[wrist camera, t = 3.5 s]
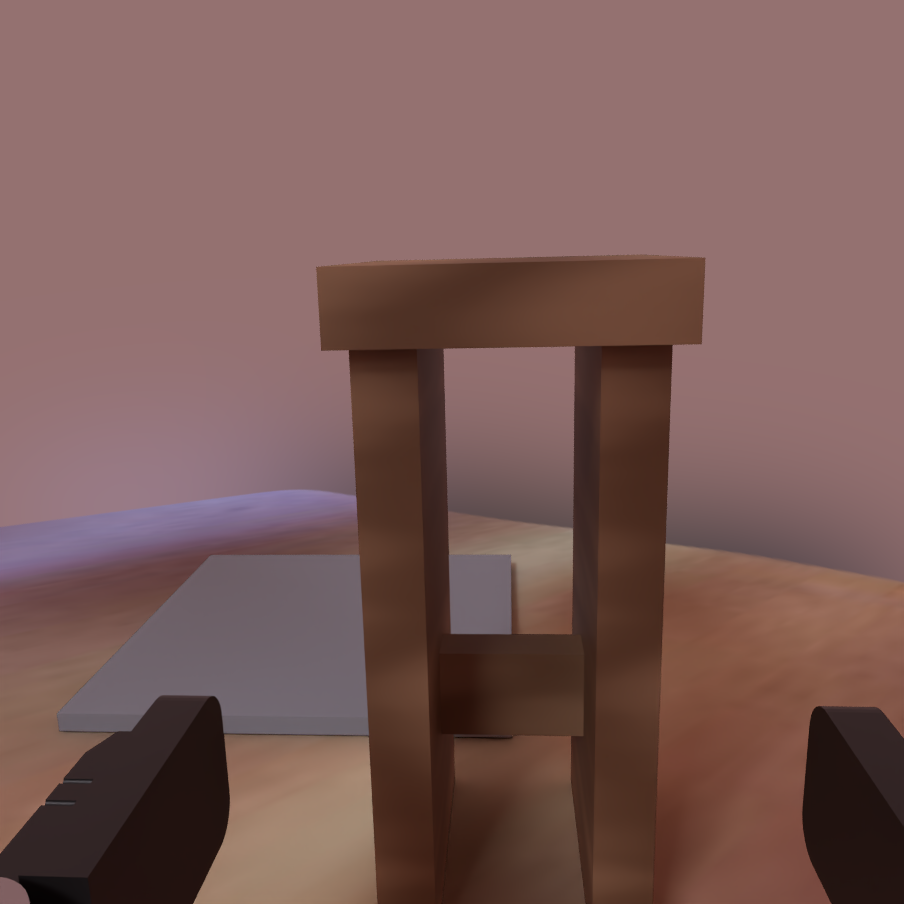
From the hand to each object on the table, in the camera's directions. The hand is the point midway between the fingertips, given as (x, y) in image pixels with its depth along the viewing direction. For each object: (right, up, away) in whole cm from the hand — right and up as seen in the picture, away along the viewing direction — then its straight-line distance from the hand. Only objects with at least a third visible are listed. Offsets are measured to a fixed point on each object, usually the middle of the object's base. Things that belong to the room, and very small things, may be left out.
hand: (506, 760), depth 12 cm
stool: (+1, -6, +9) cm, 11 cm away
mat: (-6, -3, +21) cm, 22 cm away
